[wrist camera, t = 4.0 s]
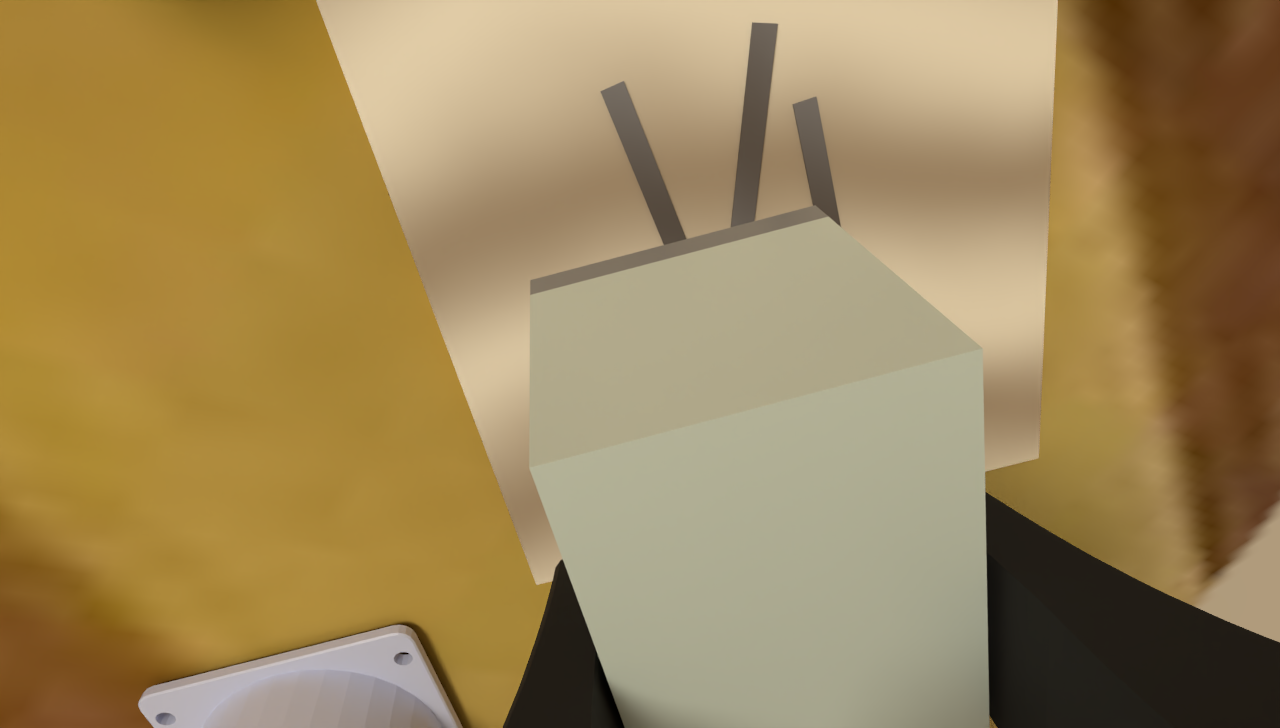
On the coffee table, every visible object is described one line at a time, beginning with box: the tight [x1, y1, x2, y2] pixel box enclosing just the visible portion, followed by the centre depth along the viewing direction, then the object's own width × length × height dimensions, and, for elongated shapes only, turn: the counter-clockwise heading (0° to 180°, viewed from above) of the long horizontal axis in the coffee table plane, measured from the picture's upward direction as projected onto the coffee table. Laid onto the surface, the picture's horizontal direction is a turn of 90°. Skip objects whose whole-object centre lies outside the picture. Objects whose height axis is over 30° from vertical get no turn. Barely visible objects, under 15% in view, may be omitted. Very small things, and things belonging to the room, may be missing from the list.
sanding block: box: [529, 205, 990, 728], centre depth 12 cm, size 8×4×5 cm, turn 13°
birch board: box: [316, 0, 1058, 585], centre depth 17 cm, size 18×14×1 cm
